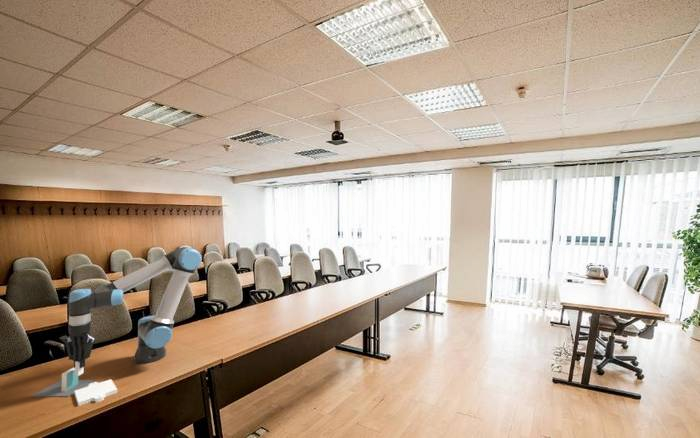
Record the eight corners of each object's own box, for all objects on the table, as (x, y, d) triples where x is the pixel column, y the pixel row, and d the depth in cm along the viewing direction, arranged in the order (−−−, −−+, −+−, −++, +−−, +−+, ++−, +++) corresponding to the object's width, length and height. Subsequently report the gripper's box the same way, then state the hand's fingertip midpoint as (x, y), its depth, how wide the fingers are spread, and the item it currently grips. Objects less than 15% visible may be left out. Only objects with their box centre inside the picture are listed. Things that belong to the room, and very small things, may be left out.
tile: (78, 384, 139) (78, 367, 139) (66, 391, 133) (66, 373, 133) (74, 384, 139) (74, 367, 139) (61, 391, 133) (61, 373, 133)
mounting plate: (118, 395, 131) (118, 391, 131) (79, 409, 121) (79, 404, 121) (110, 381, 143) (110, 377, 143) (73, 392, 133) (73, 388, 133)
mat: (93, 380, 142) (93, 379, 142) (68, 396, 129) (68, 395, 129) (60, 380, 142) (60, 380, 142) (31, 396, 129) (31, 396, 129)
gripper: (101, 320, 140) (100, 370, 140) (73, 320, 140) (72, 370, 139) (87, 326, 132) (86, 378, 132) (57, 326, 132) (57, 378, 132)
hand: (79, 374), depth 136 cm, fingers closed
